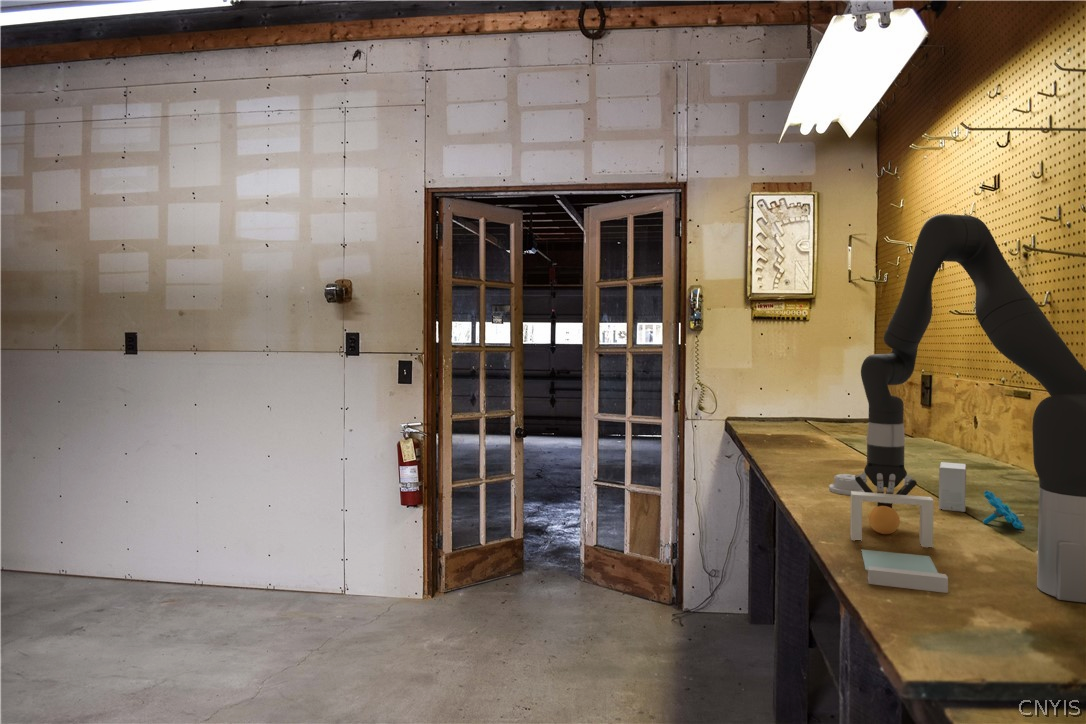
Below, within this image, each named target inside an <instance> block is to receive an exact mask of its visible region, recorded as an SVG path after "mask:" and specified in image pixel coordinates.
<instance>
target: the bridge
mask: <svg viewBox="0 0 1086 724" xmlns="http://www.w3.org/2000/svg"><path fill="white" fill-rule="evenodd" d="M863 502H870V503H871V502H873V503H878V502H882V503H893V504H896V505H897V504H898V505H899V504H900V505H909V506H910V505H911V506H912V505H913V506H919V542H920V543H919V545H920V544H921V545H920V546H922V547H921V548H928V547H932V548H931V549H934V502H935V501H934V499H933V497H932V496H924V495H922V496H921V495H910V494H907V495H896V493H894V494H886V493H884V494H882V493H877V492H874V493H868V492H854V491H851V495H850V540H851V541H855V540H861V541H860V542H862V541H863Z"/></svg>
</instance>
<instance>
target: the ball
mask: <svg viewBox="0 0 1086 724" xmlns="http://www.w3.org/2000/svg"><path fill="white" fill-rule="evenodd" d="M900 521H901V520H900V516H899V514H898V512H897V511H896V510H894V509H893V507H892V508H890V507H888V506H878V505H877V506H876V507H874V508H873V509H871V511H870V512H869V515H868V522H869V525H870V527H871V528H872V529H873V530H874V531H875V532H877V533H879V534H882V535H890V534H893V533H894V532H896V531H897V530H898V529H899V527H900Z"/></svg>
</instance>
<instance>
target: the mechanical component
mask: <svg viewBox="0 0 1086 724" xmlns="http://www.w3.org/2000/svg"><path fill="white" fill-rule="evenodd" d="M856 475H857V474H849V473H839V474H835V475H834V476H833V483H831V484H829V485H828V486H829V487H828V490H829V491H830V492H831V493H834V494H837V495H844V496H851V491H854V492H865V491H864V490H863V489H862V488H861V487H860V485H859V484H858V483H857V482H856V480H855V476H856Z"/></svg>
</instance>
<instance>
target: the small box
mask: <svg viewBox="0 0 1086 724" xmlns="http://www.w3.org/2000/svg"><path fill="white" fill-rule="evenodd" d="M938 475H939V476H938V509H939V510H941V509H942V510H944V511H953V512H962V513H965V512H966V503H967V502H966V497H967V496H966V495H967V464H966V463H957V462H947V461H946V462H944V461H941V462H940V465H939V467H938Z"/></svg>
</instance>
